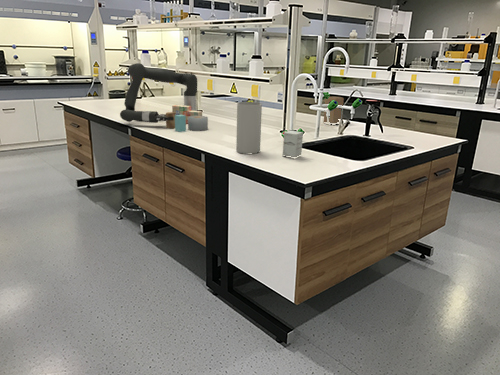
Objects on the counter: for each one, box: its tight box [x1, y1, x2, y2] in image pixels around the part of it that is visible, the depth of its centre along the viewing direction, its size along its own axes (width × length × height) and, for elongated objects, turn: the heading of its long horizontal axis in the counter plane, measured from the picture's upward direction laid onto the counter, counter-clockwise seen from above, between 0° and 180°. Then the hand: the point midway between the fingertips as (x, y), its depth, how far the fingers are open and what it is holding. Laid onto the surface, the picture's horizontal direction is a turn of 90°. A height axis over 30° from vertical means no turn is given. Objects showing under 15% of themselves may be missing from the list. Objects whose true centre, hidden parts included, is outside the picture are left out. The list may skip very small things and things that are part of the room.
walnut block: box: [165, 111, 176, 130], centre depth 265 cm, size 5×5×10 cm
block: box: [323, 96, 345, 123], centre depth 297 cm, size 10×10×20 cm
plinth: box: [187, 115, 209, 132], centre depth 263 cm, size 13×13×8 cm
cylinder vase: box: [235, 101, 263, 154], centre depth 204 cm, size 12×12×25 cm
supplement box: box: [282, 130, 304, 157], centre depth 199 cm, size 7×7×13 cm
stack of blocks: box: [171, 104, 203, 125], centre depth 282 cm, size 21×6×12 cm, turn 65°
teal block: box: [174, 115, 187, 133], centre depth 255 cm, size 5×5×10 cm
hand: (174, 118), depth 264 cm, fingers closed on walnut block, 5 cm apart
